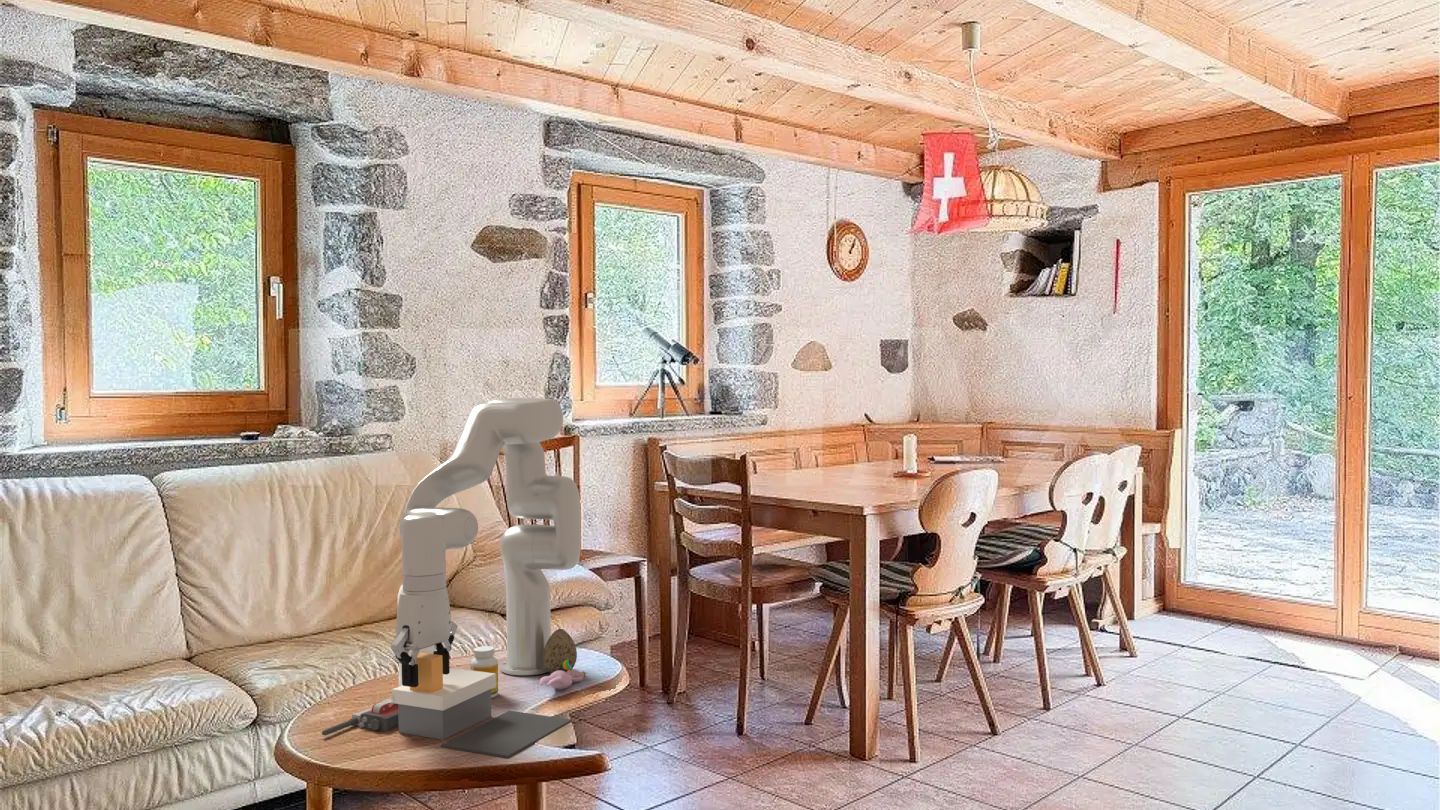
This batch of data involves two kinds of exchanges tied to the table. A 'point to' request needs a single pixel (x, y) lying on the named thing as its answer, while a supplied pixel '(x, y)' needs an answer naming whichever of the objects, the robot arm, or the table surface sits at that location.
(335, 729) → the walkie-talkie
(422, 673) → the lid
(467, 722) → the tub
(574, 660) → the decorative egg
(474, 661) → the supplement bottle
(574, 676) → the rabbit figure
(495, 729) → the mat
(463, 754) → the table surface
